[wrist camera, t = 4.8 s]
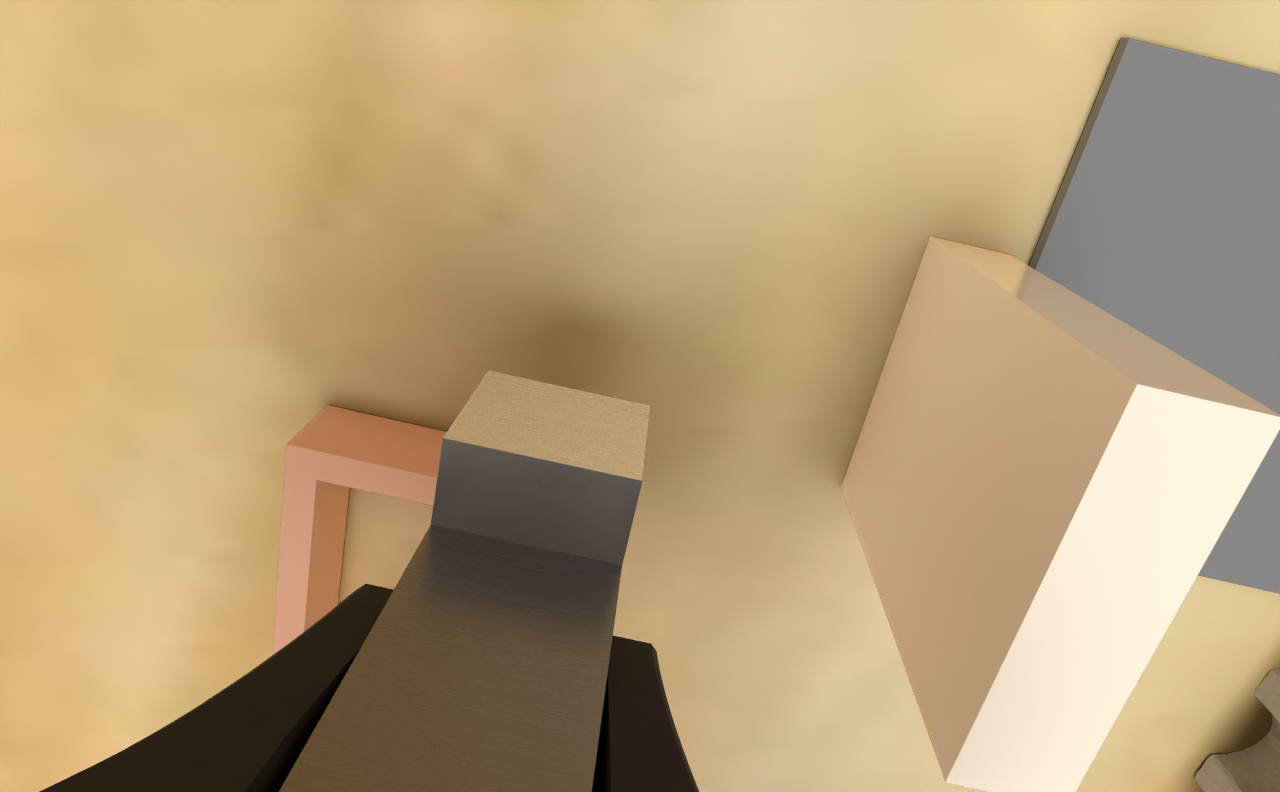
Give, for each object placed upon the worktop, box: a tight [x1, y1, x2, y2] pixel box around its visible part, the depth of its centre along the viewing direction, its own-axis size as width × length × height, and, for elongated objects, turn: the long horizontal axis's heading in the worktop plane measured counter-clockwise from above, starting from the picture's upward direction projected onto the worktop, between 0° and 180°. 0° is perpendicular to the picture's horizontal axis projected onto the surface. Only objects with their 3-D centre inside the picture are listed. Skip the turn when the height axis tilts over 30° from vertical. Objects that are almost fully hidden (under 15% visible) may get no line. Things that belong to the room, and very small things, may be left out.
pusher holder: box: [273, 405, 446, 655], centre depth 23 cm, size 6×9×2 cm
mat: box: [1029, 38, 1280, 594], centre depth 20 cm, size 12×11×1 cm
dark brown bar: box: [279, 370, 650, 792], centre depth 11 cm, size 3×6×10 cm, turn 168°
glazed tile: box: [841, 236, 1280, 792], centre depth 17 cm, size 7×2×10 cm, turn 168°
